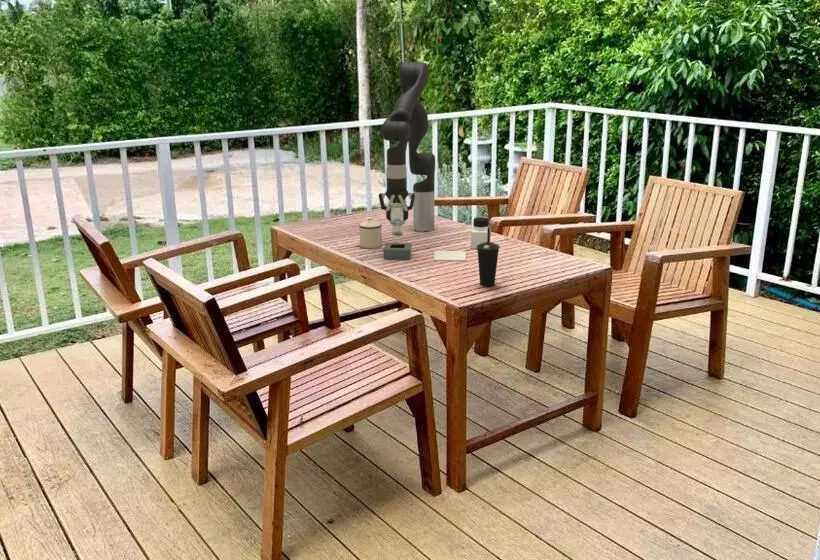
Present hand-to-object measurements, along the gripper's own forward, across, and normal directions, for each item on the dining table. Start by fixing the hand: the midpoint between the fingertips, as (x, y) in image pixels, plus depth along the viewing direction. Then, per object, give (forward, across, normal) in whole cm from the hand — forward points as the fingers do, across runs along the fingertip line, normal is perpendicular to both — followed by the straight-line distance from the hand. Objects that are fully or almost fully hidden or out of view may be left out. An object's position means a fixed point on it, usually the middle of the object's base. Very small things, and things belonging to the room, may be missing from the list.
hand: (397, 220), depth 279 cm
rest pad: (+14, -20, 0) cm, 25 cm away
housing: (+14, 0, 0) cm, 14 cm away
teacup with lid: (+15, +13, -16) cm, 25 cm away
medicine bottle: (+15, -32, -15) cm, 38 cm away
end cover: (+6, 0, 0) cm, 6 cm away
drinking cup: (+14, -33, +34) cm, 50 cm away
